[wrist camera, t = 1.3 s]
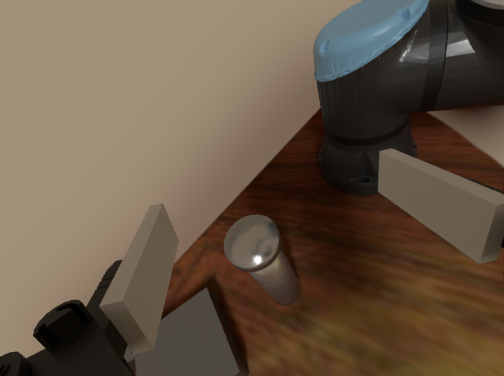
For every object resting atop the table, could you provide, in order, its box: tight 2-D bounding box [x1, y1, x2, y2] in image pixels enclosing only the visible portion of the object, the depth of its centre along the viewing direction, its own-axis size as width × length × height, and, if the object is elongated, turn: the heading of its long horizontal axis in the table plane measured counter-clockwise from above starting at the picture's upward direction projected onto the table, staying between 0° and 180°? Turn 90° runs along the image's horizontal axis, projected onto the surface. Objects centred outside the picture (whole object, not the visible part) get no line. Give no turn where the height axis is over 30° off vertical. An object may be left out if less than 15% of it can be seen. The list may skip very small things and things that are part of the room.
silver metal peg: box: [224, 215, 301, 306], centre depth 28 cm, size 6×6×14 cm
